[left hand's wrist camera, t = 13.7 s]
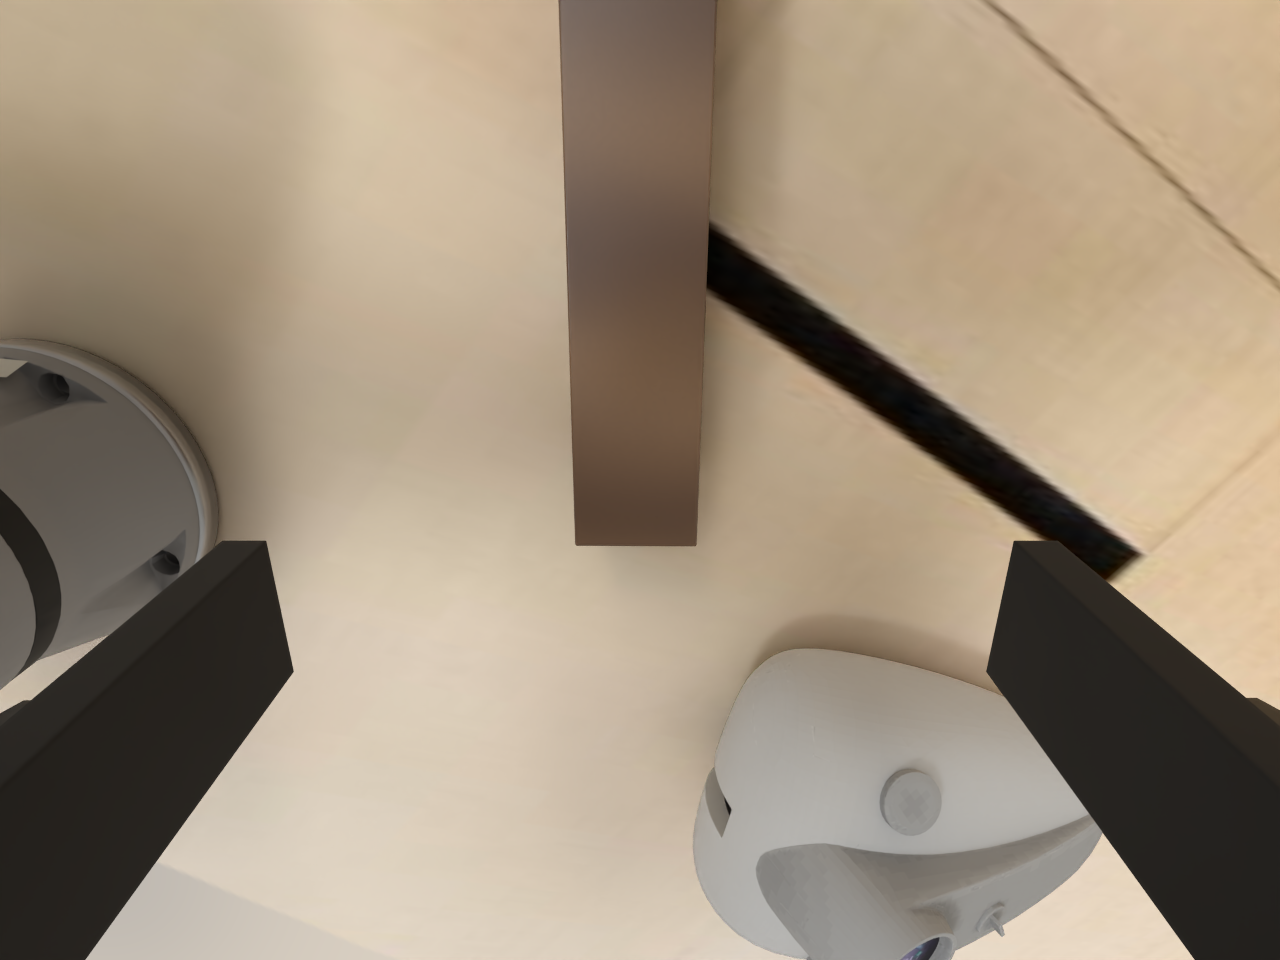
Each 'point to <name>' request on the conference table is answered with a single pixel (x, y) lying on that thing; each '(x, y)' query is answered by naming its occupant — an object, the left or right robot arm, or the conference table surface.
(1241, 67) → the conference table surface
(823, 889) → the projector
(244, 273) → the conference table surface
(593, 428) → the beam
